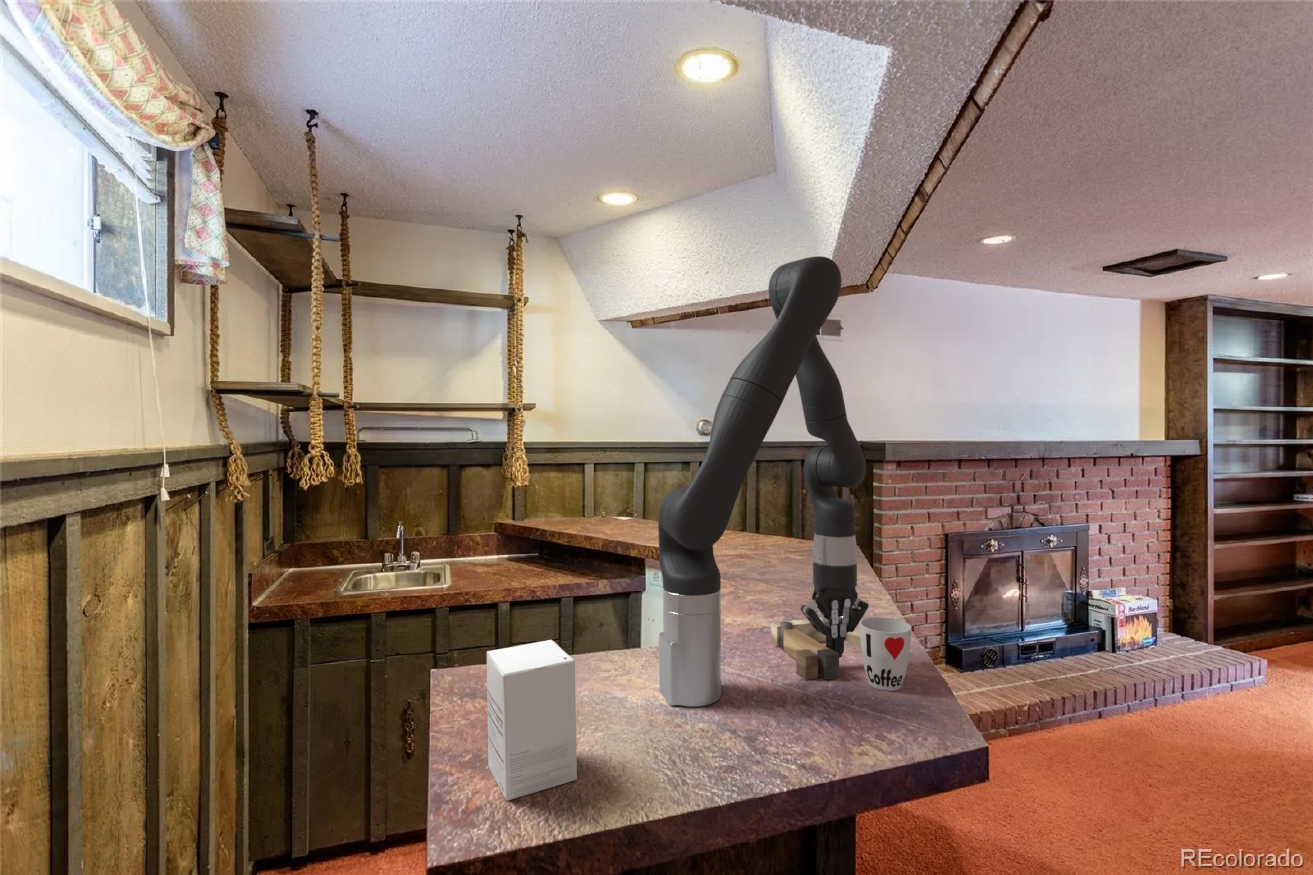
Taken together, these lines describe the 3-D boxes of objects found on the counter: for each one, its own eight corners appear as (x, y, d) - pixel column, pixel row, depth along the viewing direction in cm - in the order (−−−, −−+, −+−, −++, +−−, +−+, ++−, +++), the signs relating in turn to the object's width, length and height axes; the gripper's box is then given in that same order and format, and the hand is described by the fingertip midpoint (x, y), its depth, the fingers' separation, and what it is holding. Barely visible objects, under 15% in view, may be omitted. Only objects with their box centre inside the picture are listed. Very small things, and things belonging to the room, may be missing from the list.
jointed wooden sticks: (805, 680, 106) (805, 656, 106) (757, 644, 123) (757, 624, 123) (907, 665, 112) (907, 643, 112) (848, 633, 129) (848, 614, 129)
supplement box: (554, 748, 84) (553, 637, 84) (578, 781, 76) (577, 659, 76) (486, 765, 80) (484, 649, 79) (504, 803, 72) (503, 674, 71)
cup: (855, 688, 102) (855, 628, 102) (863, 671, 109) (863, 614, 109) (908, 698, 98) (908, 635, 98) (913, 680, 106) (913, 621, 105)
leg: (825, 679, 105) (825, 651, 105) (777, 646, 121) (777, 622, 121) (839, 677, 106) (839, 649, 106) (789, 645, 122) (789, 620, 122)
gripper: (813, 566, 105) (813, 669, 105) (879, 560, 109) (880, 659, 109) (790, 557, 112) (791, 653, 112) (854, 552, 116) (854, 645, 116)
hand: (835, 656), depth 111 cm, fingers closed
